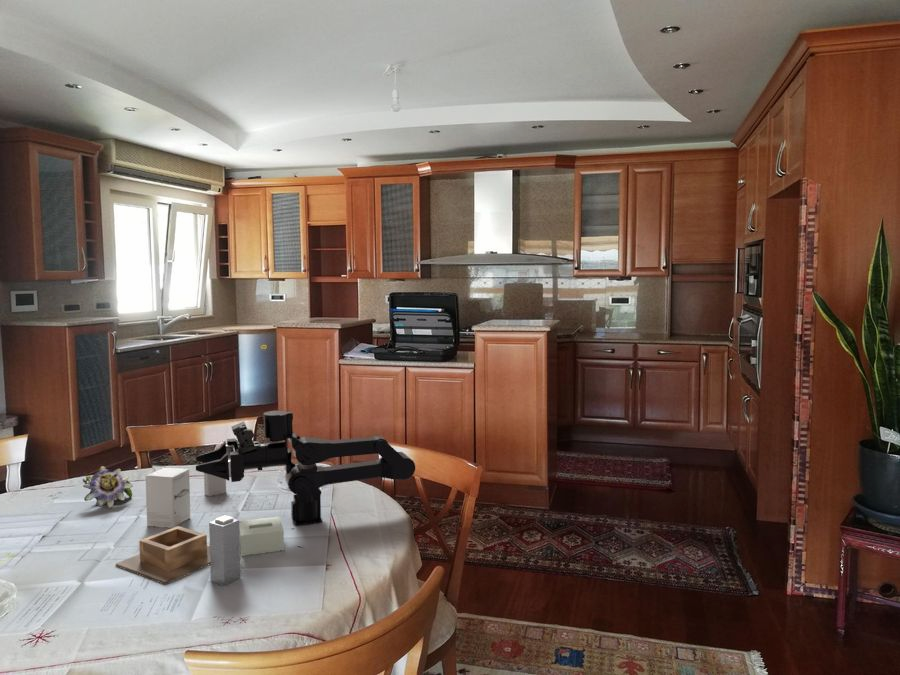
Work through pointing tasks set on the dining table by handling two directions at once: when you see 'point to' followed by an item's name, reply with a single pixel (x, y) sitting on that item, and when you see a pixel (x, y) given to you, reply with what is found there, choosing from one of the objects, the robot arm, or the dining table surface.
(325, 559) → the dining table surface
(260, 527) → the narrow slot block
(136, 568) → the square sleeve
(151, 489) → the supplement box
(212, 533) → the square bit
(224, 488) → the power adapter
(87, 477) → the passion flower
